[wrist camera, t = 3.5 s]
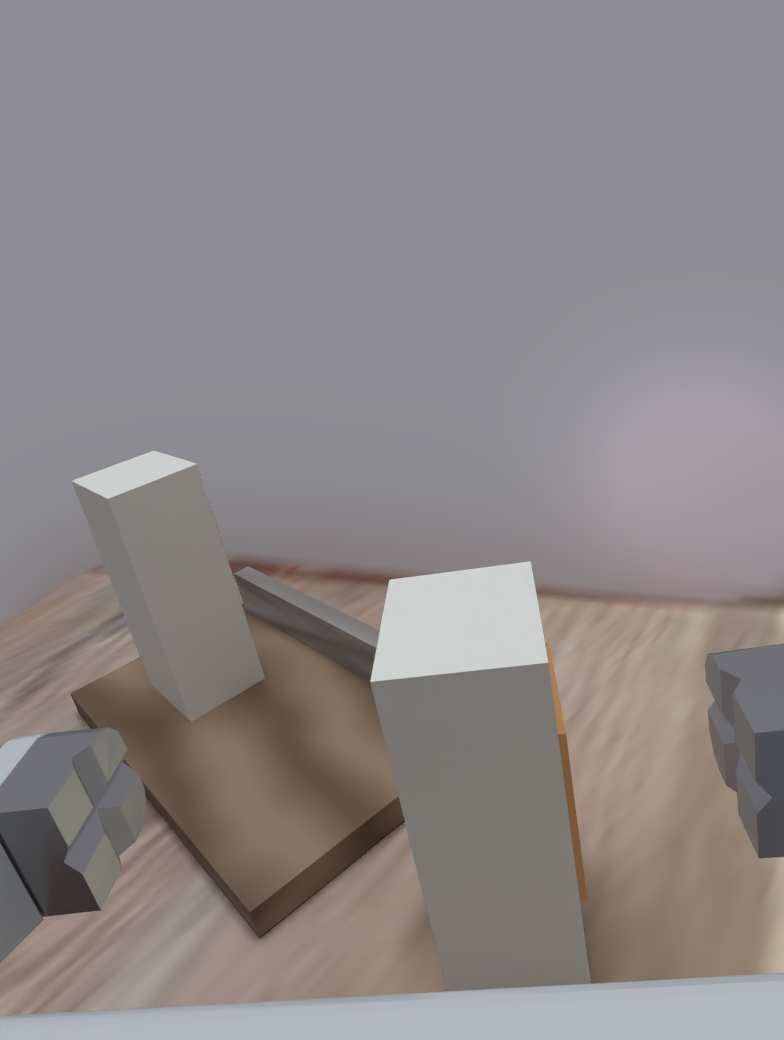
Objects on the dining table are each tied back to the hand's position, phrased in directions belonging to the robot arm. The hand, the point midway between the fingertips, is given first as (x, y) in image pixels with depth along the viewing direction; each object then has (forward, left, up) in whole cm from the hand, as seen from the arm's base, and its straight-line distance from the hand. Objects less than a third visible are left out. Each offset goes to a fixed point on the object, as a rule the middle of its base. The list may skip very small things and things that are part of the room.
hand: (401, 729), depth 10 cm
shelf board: (-2, +29, -20) cm, 35 cm away
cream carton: (+5, +11, -20) cm, 23 cm away
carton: (-4, +34, -18) cm, 38 cm away
